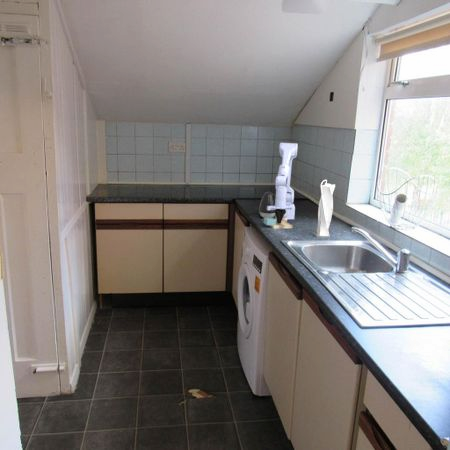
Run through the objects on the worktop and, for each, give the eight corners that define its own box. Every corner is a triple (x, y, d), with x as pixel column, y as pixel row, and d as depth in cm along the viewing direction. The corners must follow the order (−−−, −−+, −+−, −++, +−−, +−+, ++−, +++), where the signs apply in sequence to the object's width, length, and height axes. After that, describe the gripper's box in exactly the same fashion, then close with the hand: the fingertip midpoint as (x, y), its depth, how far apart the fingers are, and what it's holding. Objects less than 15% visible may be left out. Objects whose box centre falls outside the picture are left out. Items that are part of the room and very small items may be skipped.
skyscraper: (312, 233, 225) (317, 179, 219) (327, 233, 226) (333, 179, 219) (316, 237, 217) (322, 181, 210) (332, 237, 218) (338, 182, 211)
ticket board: (282, 222, 246) (283, 214, 245) (292, 228, 234) (293, 219, 233) (264, 223, 243) (265, 214, 241) (273, 228, 230) (274, 220, 229)
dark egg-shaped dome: (271, 220, 250) (273, 194, 246) (255, 217, 255) (257, 192, 251) (279, 217, 258) (280, 191, 254) (263, 214, 263) (264, 189, 260)
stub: (272, 222, 237) (272, 217, 236) (275, 224, 233) (276, 219, 232) (263, 222, 236) (263, 217, 235) (267, 225, 231) (267, 219, 230)
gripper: (271, 199, 226) (269, 225, 229) (296, 199, 230) (294, 224, 233) (266, 197, 232) (264, 221, 235) (290, 197, 236) (288, 221, 239)
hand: (279, 223), depth 235 cm, fingers closed
